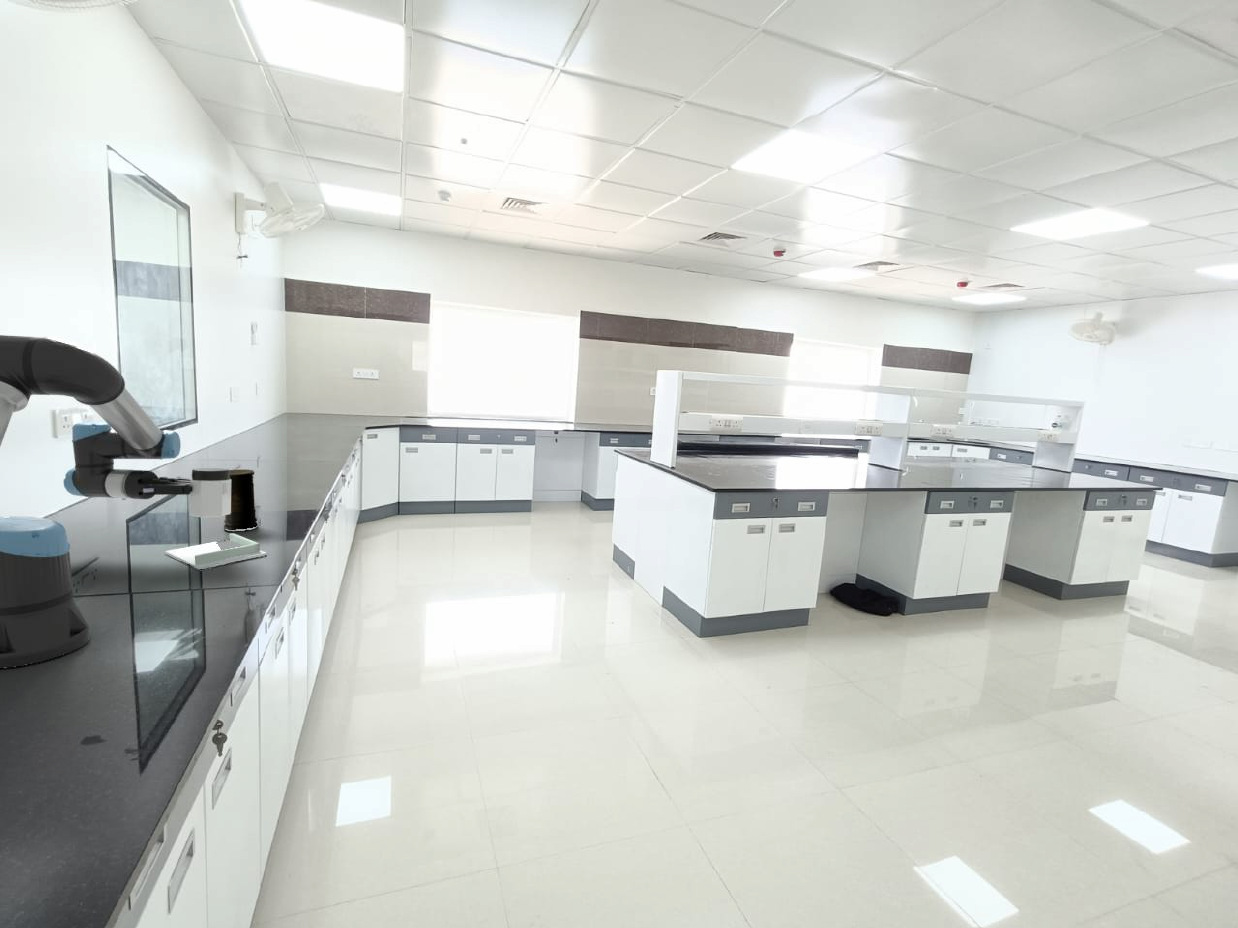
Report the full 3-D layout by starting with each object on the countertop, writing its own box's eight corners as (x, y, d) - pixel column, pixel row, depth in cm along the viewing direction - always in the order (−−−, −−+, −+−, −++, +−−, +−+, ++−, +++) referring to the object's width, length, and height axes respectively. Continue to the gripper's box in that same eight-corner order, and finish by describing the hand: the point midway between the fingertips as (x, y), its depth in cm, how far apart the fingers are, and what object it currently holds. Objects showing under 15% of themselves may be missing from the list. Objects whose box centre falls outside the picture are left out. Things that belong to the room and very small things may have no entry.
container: (226, 525, 186) (223, 469, 183) (259, 523, 190) (256, 468, 187) (221, 533, 178) (217, 474, 175) (256, 531, 182) (253, 473, 179)
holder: (266, 555, 160) (266, 544, 160) (199, 570, 147) (198, 558, 146) (231, 541, 171) (230, 531, 170) (165, 554, 158) (164, 543, 157)
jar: (202, 512, 160) (203, 467, 159) (235, 512, 161) (236, 468, 160) (183, 516, 151) (183, 470, 150) (218, 517, 152) (218, 471, 151)
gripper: (154, 493, 161) (241, 497, 162) (114, 504, 149) (209, 508, 149) (152, 466, 160) (240, 470, 161) (111, 474, 147) (207, 479, 148)
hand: (225, 488), depth 155 cm, fingers closed
